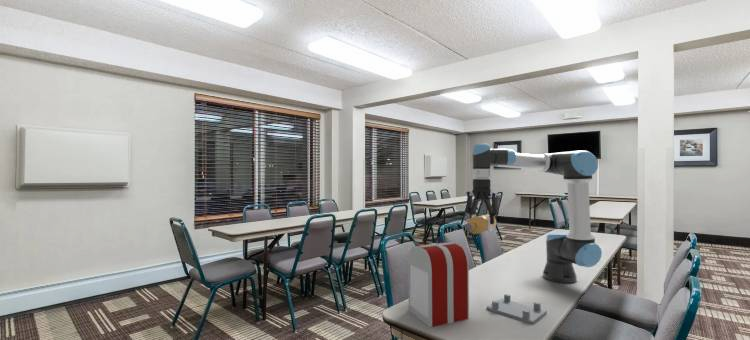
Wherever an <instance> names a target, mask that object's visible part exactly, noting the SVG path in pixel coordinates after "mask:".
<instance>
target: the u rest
mask: <svg viewBox="0 0 750 340" xmlns="http://www.w3.org/2000/svg"><path fill="white" fill-rule="evenodd" d="M541 308H542V307H541V302H538V301H537V302H536V301H534V302H533V306H530V305H527V304H524V303H520V302H516V301H512V300H511V294H507V293H505V294H504V295H503V298H500V299H498V300H493V301H491V303H490V304H489V305H488V306H486V310H487V311H491V312H494V313H497V314H500V315H504V316H506V317H509V318H513V319H516V320H519V321H523V322H524V323H529V324H532V325H534V324H535V323H537V322H538V321H539V320H540V319H542V318H543V317H544V316H545V315H546V314H547V312H548V311H547V310H544V309H541Z"/></svg>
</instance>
